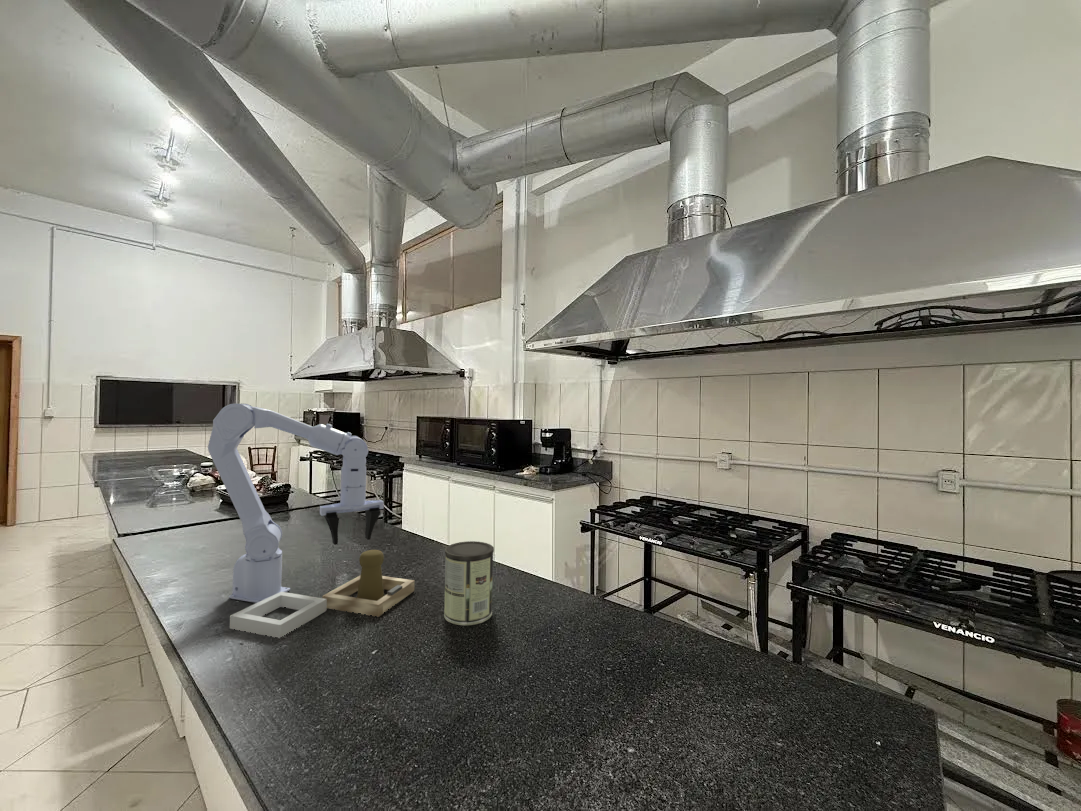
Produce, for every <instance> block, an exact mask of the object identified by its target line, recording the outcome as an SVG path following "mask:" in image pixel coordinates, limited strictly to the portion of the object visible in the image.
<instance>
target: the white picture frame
mask: <svg viewBox="0 0 1081 811" xmlns="http://www.w3.org/2000/svg"><path fill="white" fill-rule="evenodd" d="M284 607H286V608H285V609H291V610H296V611H295V612H292V613H291V614H289V615H287V616H285V617H284V618H282V619H281V620H280V619H276V618H269V617H265V616H266V615H267V614H269V613H272V612H273V611H275V610H277V609H280V608H284ZM327 609H328V608H327V599H324V598H322V597H318V596H317V597H316V596H311V595H305V594H299V593H292V592H288V591H287V592H279V593H277V594H275V595H273V596H271V597H268V598H266V599H264V600H262V601H260V602H258V603H253V604H251V605H249V606H246V607H245V608H243V609H241V610H239V611H236V612H234V613H232V614H231V615H230V616H229V629H230V630H234V629H235V630H236V631H239V630H240V632H244V631H246V632H245V633H250V632H251V633H250V634H255V633H256V635H260V636H265V635H267V636H266V637H270V636H272V637H271V638H275V637H278V638H277V639H281V638H280V637H282V636H283V637H285V636H286V634H287V633H288V634H290V633H291V631H292V632H293V631H295V630H297V629H299V628H300V627H302V626H304V625H305V624H307V623H308V622H310V621H311V620H314V619H315V618H317V617H318V616H320V615H322V614H323V613H325V612H327ZM265 614H266V615H265ZM301 625H302V626H301ZM296 628H297V629H296ZM294 629H295V630H294ZM289 632H290V633H289ZM288 634H287V635H288ZM284 635H285V636H284ZM283 637H282V638H283Z"/></svg>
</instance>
